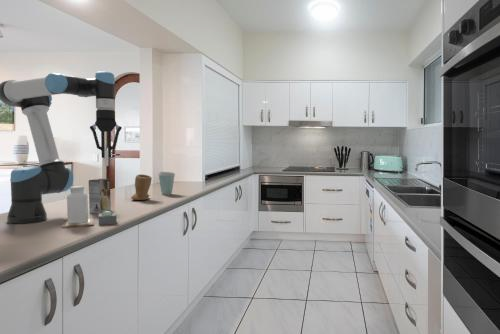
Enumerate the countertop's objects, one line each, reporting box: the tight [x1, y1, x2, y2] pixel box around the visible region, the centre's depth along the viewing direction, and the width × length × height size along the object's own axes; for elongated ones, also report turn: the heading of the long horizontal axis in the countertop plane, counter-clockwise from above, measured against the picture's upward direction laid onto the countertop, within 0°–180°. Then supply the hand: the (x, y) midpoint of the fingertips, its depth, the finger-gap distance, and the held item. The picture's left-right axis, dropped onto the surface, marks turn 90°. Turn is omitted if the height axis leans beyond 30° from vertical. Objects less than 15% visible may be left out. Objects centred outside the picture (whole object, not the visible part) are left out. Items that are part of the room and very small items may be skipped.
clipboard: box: [61, 217, 95, 229], centre depth 169 cm, size 12×14×1 cm
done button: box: [103, 210, 112, 216], centre depth 171 cm, size 3×3×4 cm
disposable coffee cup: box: [157, 171, 176, 196], centre depth 265 cm, size 11×11×15 cm
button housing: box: [98, 212, 117, 226], centre depth 172 cm, size 7×7×4 cm
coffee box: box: [88, 178, 112, 214], centre depth 198 cm, size 9×6×16 cm
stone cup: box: [130, 174, 152, 201], centre depth 240 cm, size 15×12×15 cm
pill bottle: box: [66, 185, 89, 224], centre depth 169 cm, size 8×8×15 cm
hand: (106, 165), depth 170 cm, fingers closed
